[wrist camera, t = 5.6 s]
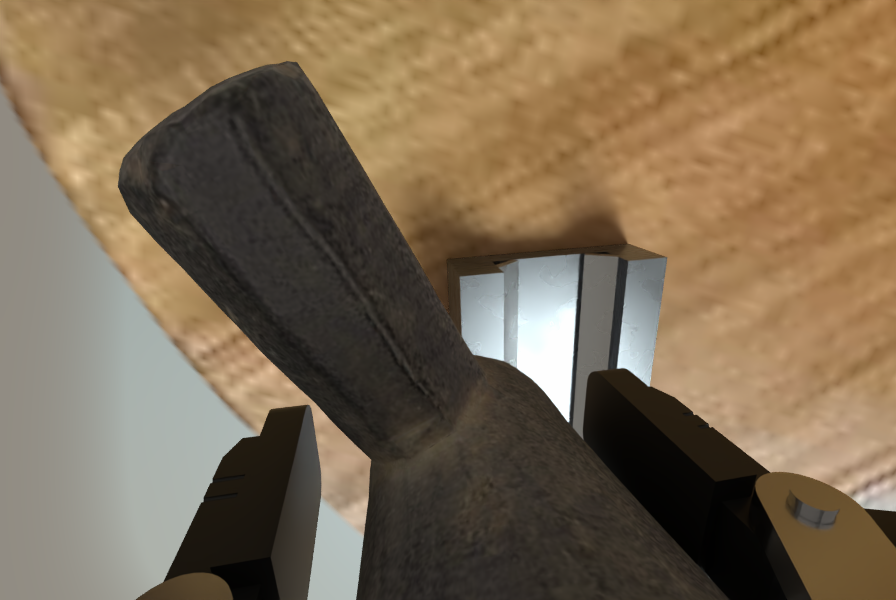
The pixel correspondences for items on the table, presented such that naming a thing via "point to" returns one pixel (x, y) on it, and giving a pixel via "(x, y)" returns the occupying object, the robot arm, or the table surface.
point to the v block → (561, 314)
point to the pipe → (390, 361)
